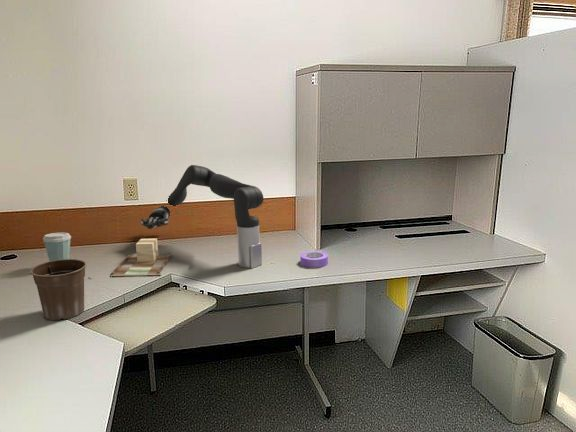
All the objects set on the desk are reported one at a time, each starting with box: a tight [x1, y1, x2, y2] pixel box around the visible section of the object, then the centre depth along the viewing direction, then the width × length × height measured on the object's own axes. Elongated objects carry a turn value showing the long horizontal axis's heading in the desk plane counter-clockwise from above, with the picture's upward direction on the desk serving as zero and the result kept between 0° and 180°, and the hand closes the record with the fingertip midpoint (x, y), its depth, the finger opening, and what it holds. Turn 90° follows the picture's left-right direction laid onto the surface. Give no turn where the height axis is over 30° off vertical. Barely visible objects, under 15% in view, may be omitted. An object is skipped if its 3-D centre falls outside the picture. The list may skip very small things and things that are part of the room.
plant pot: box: [30, 258, 87, 321], centre depth 151 cm, size 16×16×16 cm
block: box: [135, 237, 159, 262], centre depth 201 cm, size 8×7×8 cm
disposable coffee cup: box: [42, 232, 72, 262], centre depth 195 cm, size 11×11×15 cm
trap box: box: [111, 253, 173, 278], centre depth 195 cm, size 23×19×2 cm
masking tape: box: [300, 250, 329, 269], centre depth 197 cm, size 12×12×4 cm
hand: (149, 226), depth 206 cm, fingers closed
